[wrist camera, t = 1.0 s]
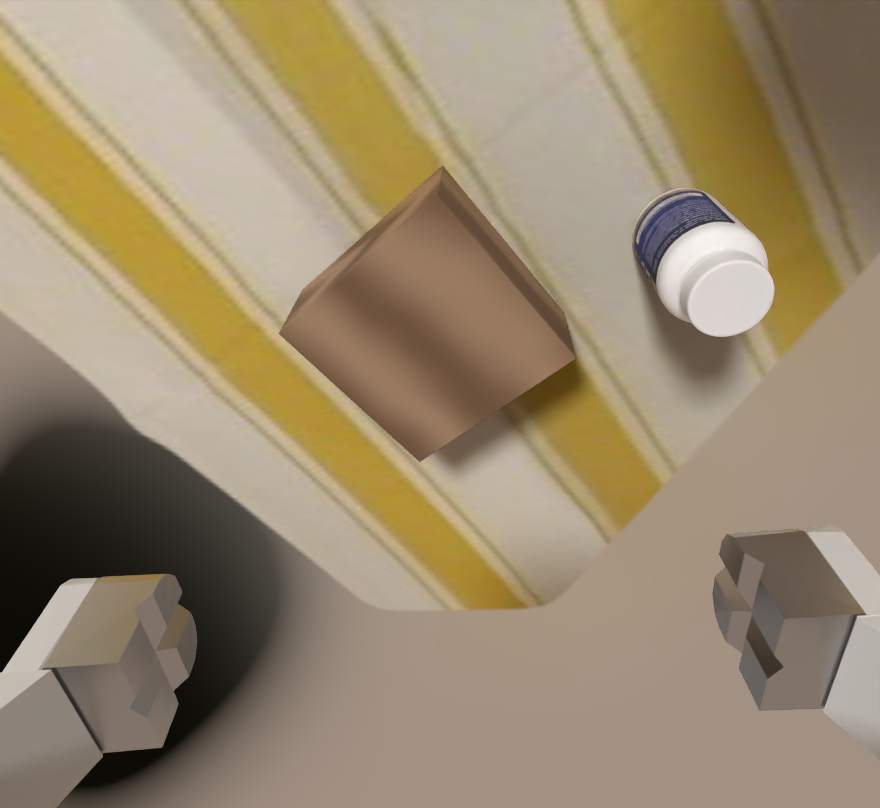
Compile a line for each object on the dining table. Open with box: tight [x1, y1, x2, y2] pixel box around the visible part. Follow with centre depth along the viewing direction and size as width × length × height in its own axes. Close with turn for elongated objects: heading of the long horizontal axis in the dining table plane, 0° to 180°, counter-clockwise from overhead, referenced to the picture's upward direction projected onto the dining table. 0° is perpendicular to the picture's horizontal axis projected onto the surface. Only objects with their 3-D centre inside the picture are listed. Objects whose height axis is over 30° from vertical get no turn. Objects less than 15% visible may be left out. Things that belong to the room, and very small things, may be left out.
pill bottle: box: [632, 188, 774, 337], centre depth 34 cm, size 5×5×10 cm
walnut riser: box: [279, 166, 576, 462], centre depth 39 cm, size 12×12×6 cm
